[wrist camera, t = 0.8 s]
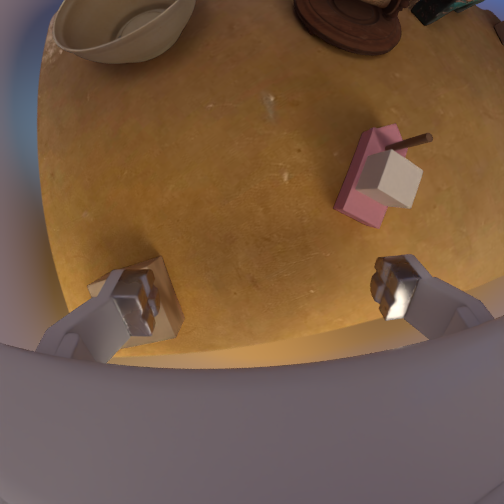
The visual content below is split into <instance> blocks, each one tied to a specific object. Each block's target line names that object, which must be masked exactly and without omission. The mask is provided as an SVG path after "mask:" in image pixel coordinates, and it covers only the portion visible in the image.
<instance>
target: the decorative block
mask: <svg viewBox="0 0 504 504" xmlns="http://www.w3.org/2000/svg"><path fill="white" fill-rule="evenodd" d="M494 28H495V30H496V32H497V34H498V36H499V38H500V40H501V42H502V44H503V45H504V21H502V22H500V23H498V24H496V25H495V26H494Z"/></svg>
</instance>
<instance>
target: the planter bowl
mask: <svg viewBox="0 0 504 504" xmlns="http://www.w3.org/2000/svg"><path fill="white" fill-rule="evenodd" d="M195 3H196V0H64V1H63V3H62V5H61V6H60V8H59V10H58V12H57V14H56V16H55V19H54V23H53V38H54V41H55V43H56V44H57V45H58V46H59V47H60V48H62V49H63V50H65V51H67V52H70V53H74V54H75V55H77V56H79V57H81V58H84V59H87V60H90V61H94V62H99V63H109V64H119V63H128V62H133V63H134V62H143V61H147V60H150V59H153V58H155V57H157V56H159V55H161V54H162V53H164V52H165V51H167V50H168V49H169V48H170V47H171V46H172V45H173V44H174V43H175V42H176V41H177V39H178V38H179V36H180V34H181V32H182V30H183V29H184V27H185V26H186V24H187V22H188V21H189V19H190V17H191V14H192V12H193V9H194V6H195Z"/></svg>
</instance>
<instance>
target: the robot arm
mask: <svg viewBox="0 0 504 504" xmlns="http://www.w3.org/2000/svg"><path fill="white" fill-rule="evenodd" d="M374 267H375V269H376V271H377V272H376V273H375V274H374V275H373V276H372V278H371V283H370V291H371V295H372V297H373V299H374V301H376V302H378V303H379V304H380V306H379V310H380V312H381V314H382V315H383V317H384V319H385V320H393V319H400V318H404V319H405V320H406V321H407V322H409V323H410V324H411V325H412V326H413V327H415V328H416V329H417V330H418V331H420V332H421V333H422V334H423V335H425V336H426V337H427V338H428V339H429V340H427V341H424V342H420V343H416V344H412V345H408V346H403V347H399V348H395V349H390V350H386V351H381V352H375V353H370V354H365V355H359V356H353V357H347V358H341V359H335V360H327V361H320V362H311V363H304V364H293V365H282V366H270V367H254V368H235V369H234V368H231V369H173V368H150V367H138V366H125V365H116V364H107V362H108V361H109V360H110V359H111V358H112V356H113V355H114V354H115V353H116V352H117V351H118V350H119V349H120V348H121V347H122V346H123V345H124V344H125V343H126V342H127V341H128V340H129V339H130V336H152V335H153V331H154V328H155V324H156V322H155V319H154V317H155V316H156V315H158V314H159V310H160V294H159V291H158V288H157V287H155V286H154V285H153V283H154V281H155V277H154V273H153V271H152V270H151V269H126V270H125V269H118V270H112V271H111V273H110V275H109V276H108V278H107V280H106V281H105V283H104V285H103V287H102V288H101V290H100V292H99V294H98V296H97V297H92V298H91V299H89V300H88V301H87V302H85V303H84V304H82V305H81V306H79V307H78V308H76V309H75V310H73V311H72V312H71V313H69V314H68V315H66V316H65V317H63V318H62V319H61V320H59V321H58V322H56V323H55V324H54V325H52V326H51V327H49V328H48V329H47V330H46V332H45V334H44V336H43V338H42V340H41V341H40V343H39V345H38V347H37V349H36V351H35V352H34V351H29V350H26V349H21V348H17V347H13V346H9V345H6V344H2V343H0V504H504V315H503V316H501V317H498V318H496V319H494V317H493V316H492V315H491V314H490V312H489V311H488V310H487V309H486V307H485V306H484V305H483V303H482V302H481V301H480V300H478V299H476V298H474V297H473V296H471V295H469V294H467V293H465V292H463V291H461V290H460V289H458V288H456V287H454V286H452V285H450V284H448V283H446V282H444V281H442V280H440V279H438V278H436V277H432V276H431V275H430V274H429V272H428V271H427V270H426V269H425V268H424V267H423V265H422V264H421V263H420V262H419V261H418V260H417V258H416V257H415V256H414V255H412V254H407V255H400V256H388V257H378V258H377V260H376V263H375V266H374Z"/></svg>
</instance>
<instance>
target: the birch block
mask: <svg viewBox="0 0 504 504" xmlns="http://www.w3.org/2000/svg"><path fill="white" fill-rule="evenodd" d="M122 269H125V270H126V269H151V270H152V271H153V273H154V277H155V281H154V283H153V285H154V286H155V287H157V288H158V291H159V294H160V310H159V314H158V315H156V316H155V317H154V319H155V322H156V324H155V328H154V331H153V335H152V336H130V339H129V340H128V341H127V342H126V343H125V344H124V345H123V346H122V347H121V348H120V349H122V348H128V347H133V346H138V345H144V344H149V343H154V342H158V341H163V340H168V339H173V338H176V337H177V334H178V332H179V330H180V328H181V326H182V324H183V322H184V319H185V317H184V314H183V312H182V309H181V307H180V304H179V302H178V299H177V297H176V294H175V291H174V289H173V286H172V283H171V281H170V278H169V275H168V273H167V270H166V267H165V264H164V261H163V258H162V256H159V257H156V258H153V259H150V260H147V261H144V262H141V263H138V264H135V265H132V266H128V267H125V268H122ZM110 273H111V272H110ZM110 273H107V274H105V275H104V276H102V277H100V278H99V279H97V280H96V281H94V282H92V283H91V284H89V285H87V287H88V290H89V292H90V295H91V297H97V296H98V294H99V292H100V290H101V288H102V287H103V285H104V283H105V281H106V280H107V278H108V276H109V275H110Z"/></svg>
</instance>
